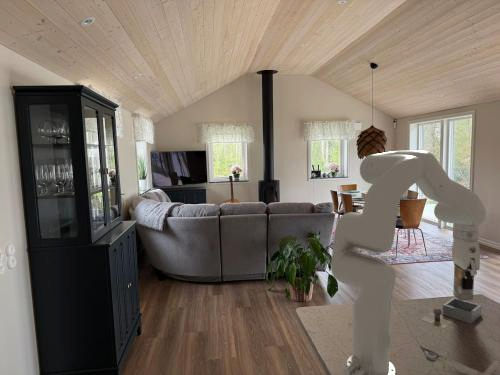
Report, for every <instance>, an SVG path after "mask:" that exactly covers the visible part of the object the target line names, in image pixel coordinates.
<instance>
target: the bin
mask: <svg viewBox="0 0 500 375" xmlns="http://www.w3.org/2000/svg"><path fill="white" fill-rule="evenodd" d="M442 315H443V316H445V317H446V316H447V317H448V318H449V317H450V318H451V319H454V320H459V321H462V322H464V323H467V324H471V325H472V324H473V323H474V322H476V320H477V319H478V318H479V317H481V315H482V305H481V304H478V303H474V302H470V301H469V300H459V299H457V298H456V297H455V296H453V297H452V298H450V299H449V300H448V301H446V302H445V303H443V304H442Z"/></svg>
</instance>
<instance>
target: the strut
mask: <svg viewBox="0 0 500 375" xmlns="http://www.w3.org/2000/svg"><path fill="white" fill-rule="evenodd" d="M453 265H454V264H453ZM453 268H454V269H453V292H452V295H453V297H454V298H457V299H459V300H464V301H473V300H474V288H475V285H474V284H475V283H474V282H475V278H474V279H473V289H472V290H464V289H462V278H464V275H463V269H462V268H461V267H459V266H458V265H454V267H453ZM467 269H470V267H467ZM468 272H470V271H467V273H468Z"/></svg>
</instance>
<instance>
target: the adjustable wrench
mask: <svg viewBox="0 0 500 375" xmlns="http://www.w3.org/2000/svg"><path fill="white" fill-rule="evenodd" d="M419 348H420V349H421V351H422V352H423V353H424V355H425V357H426V358H427V359H429V360H432V361H435V360H437V358H438V357H437V356H438V354H437V352H435V351H432V350H430V349H427V348H425V347H423V346H419Z"/></svg>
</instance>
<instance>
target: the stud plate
mask: <svg viewBox="0 0 500 375" xmlns="http://www.w3.org/2000/svg"><path fill="white" fill-rule="evenodd" d="M442 314H443V311H442V310H441V308H439V307H435V308H434V309H433V312H431V311H429V313H427V314H425V315H424V316H423V317H422V318H421V317H420V319H419V320H420V321H423V322H426V323H429V324H432V325H434V326H437V327H440V328H443V329H446V328H447V327H449V326H450V325H451V324H452V323H453V322H455V320H456V319H453V318H449V317H446V316H444V315H443V316H442Z"/></svg>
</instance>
